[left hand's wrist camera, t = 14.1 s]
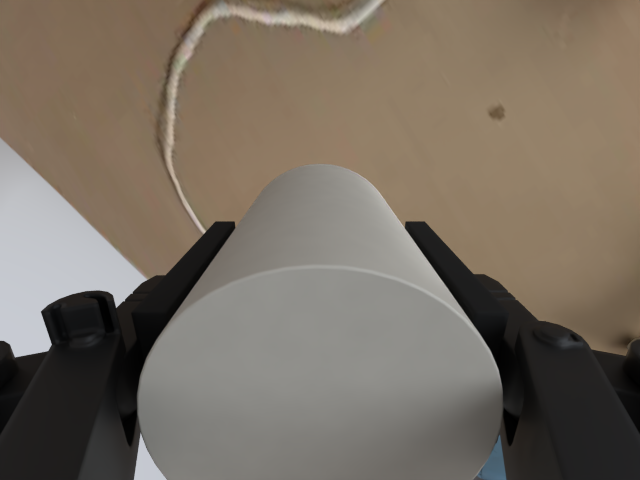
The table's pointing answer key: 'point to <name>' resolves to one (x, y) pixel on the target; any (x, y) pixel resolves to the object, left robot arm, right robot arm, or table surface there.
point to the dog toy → (631, 342)
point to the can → (320, 351)
